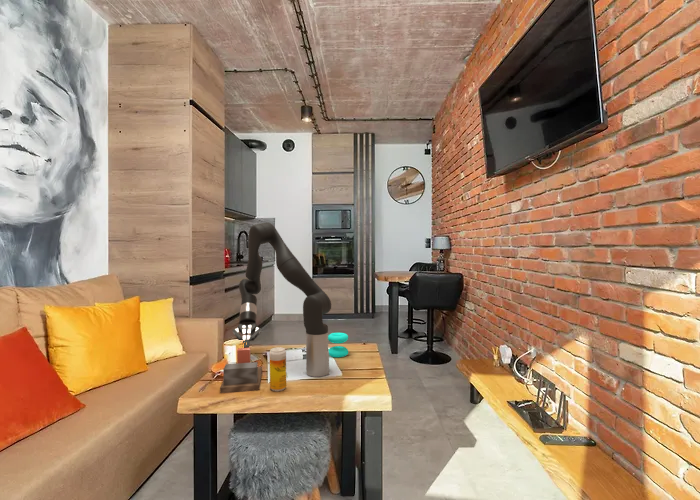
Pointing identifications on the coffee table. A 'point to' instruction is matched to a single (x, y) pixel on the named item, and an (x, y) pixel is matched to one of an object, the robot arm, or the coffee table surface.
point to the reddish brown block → (243, 355)
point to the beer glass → (277, 369)
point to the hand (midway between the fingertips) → (245, 348)
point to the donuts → (338, 350)
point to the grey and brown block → (241, 377)
